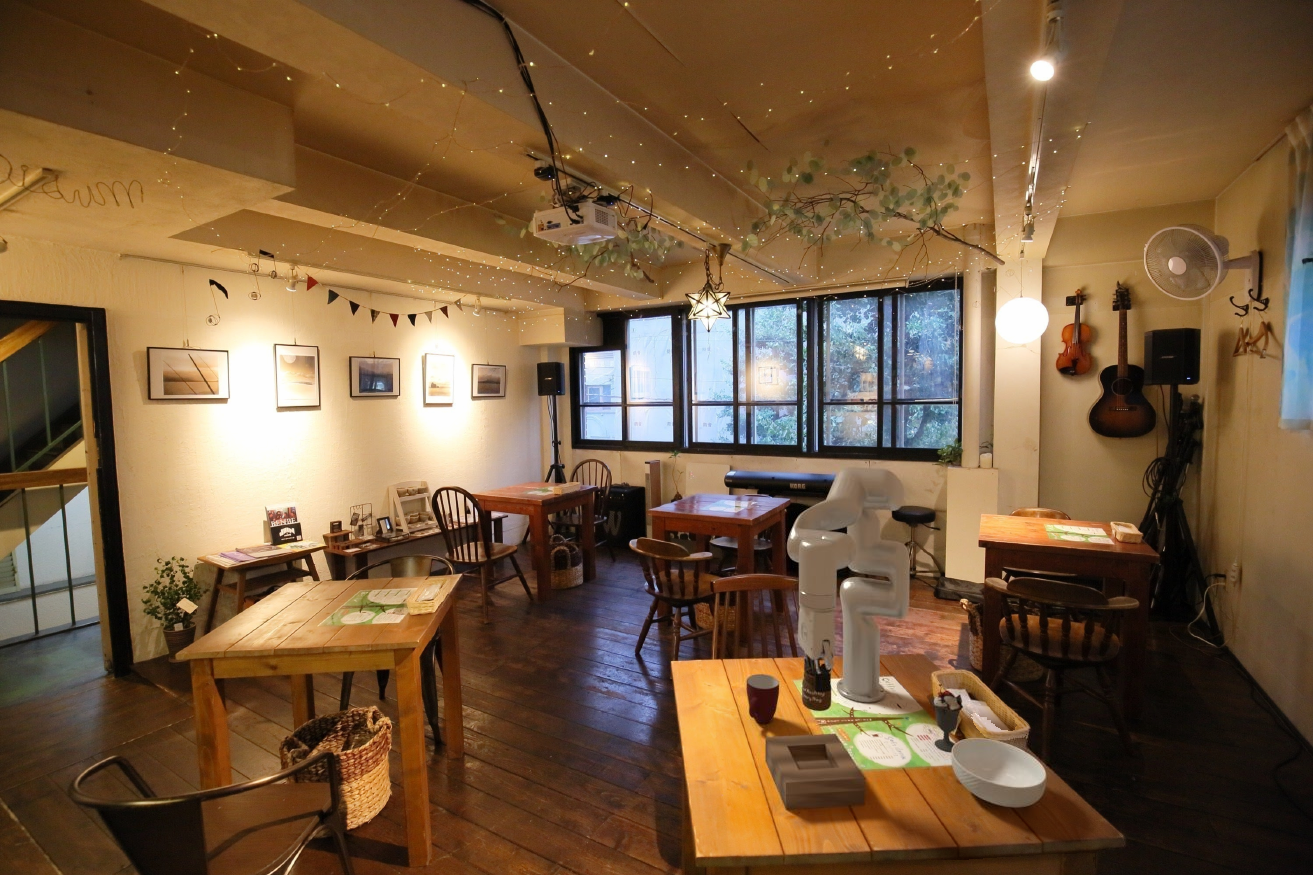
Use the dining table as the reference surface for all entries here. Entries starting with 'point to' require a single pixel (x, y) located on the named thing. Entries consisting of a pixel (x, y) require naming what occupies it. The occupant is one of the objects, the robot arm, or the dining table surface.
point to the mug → (762, 697)
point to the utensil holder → (814, 692)
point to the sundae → (946, 716)
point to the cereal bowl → (998, 772)
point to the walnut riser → (814, 771)
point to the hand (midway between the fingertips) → (817, 682)
